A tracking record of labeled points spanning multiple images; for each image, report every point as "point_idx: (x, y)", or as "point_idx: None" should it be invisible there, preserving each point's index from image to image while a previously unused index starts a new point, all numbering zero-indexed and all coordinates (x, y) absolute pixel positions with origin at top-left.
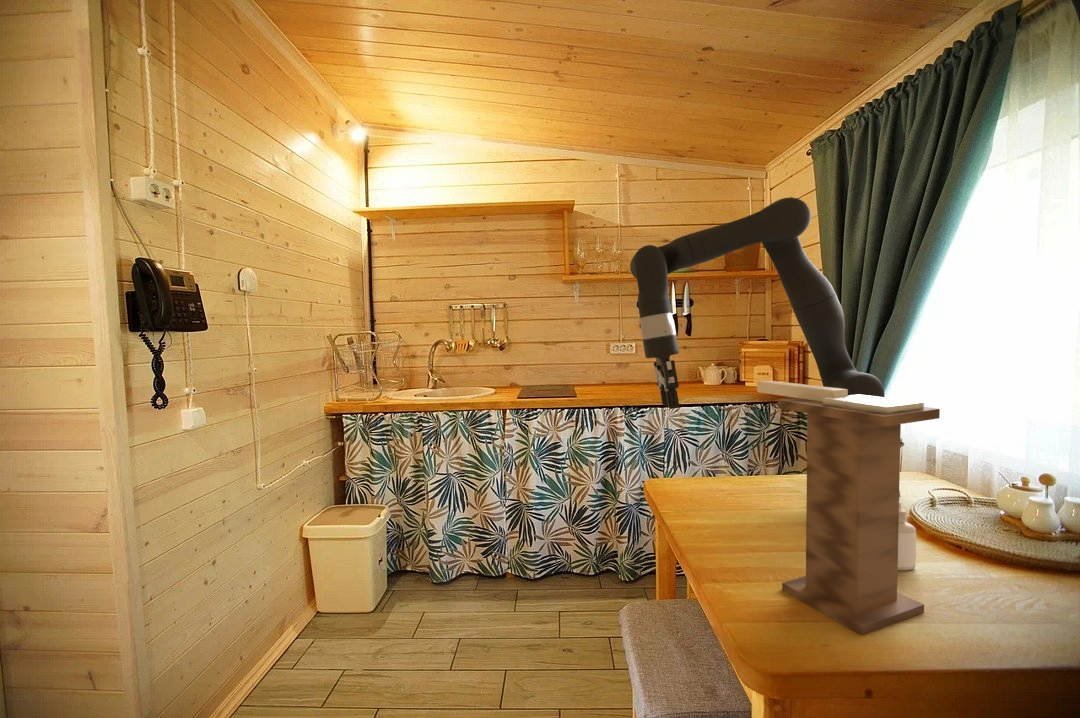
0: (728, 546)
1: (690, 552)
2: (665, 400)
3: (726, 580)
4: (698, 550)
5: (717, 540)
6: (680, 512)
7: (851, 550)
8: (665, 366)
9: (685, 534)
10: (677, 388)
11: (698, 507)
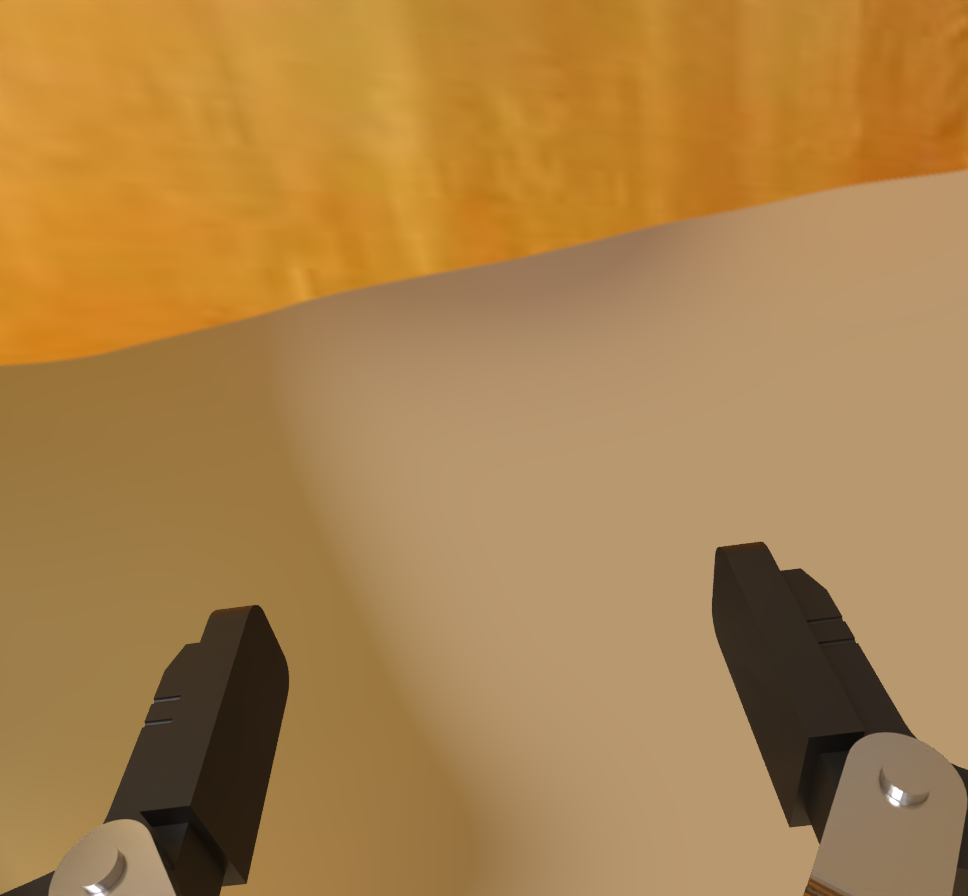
0: (675, 26)
1: (734, 201)
2: (265, 703)
3: (958, 81)
4: (717, 168)
5: (615, 71)
6: (302, 227)
7: None
8: None
9: (564, 214)
10: (906, 756)
11: (199, 128)
